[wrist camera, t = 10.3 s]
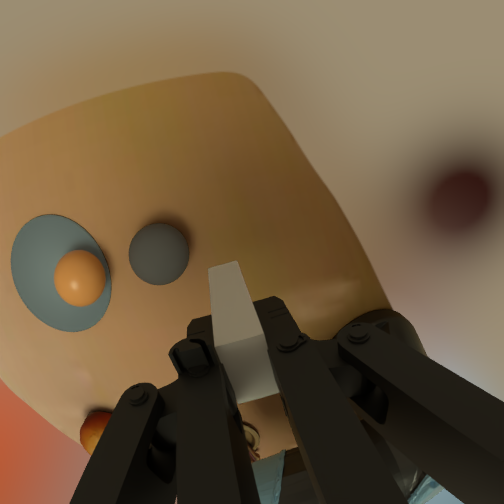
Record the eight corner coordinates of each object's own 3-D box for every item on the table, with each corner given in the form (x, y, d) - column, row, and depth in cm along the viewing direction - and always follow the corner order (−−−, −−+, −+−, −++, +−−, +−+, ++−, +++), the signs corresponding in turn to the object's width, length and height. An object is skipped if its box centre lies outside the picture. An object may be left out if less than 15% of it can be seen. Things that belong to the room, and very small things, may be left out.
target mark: (127, 245, 27) (126, 246, 26) (97, 348, 29) (97, 349, 29) (22, 196, 23) (21, 196, 22) (8, 300, 25) (7, 301, 25)
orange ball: (103, 274, 22) (51, 301, 19) (119, 301, 26) (75, 323, 24) (87, 229, 24) (40, 253, 22) (102, 260, 28) (61, 280, 26)
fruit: (66, 405, 30) (79, 446, 24) (112, 394, 35) (132, 431, 29) (81, 436, 32) (97, 473, 26) (122, 425, 37) (142, 460, 31)
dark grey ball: (132, 284, 20) (112, 264, 24) (185, 300, 25) (157, 280, 28) (160, 218, 21) (135, 210, 25) (210, 243, 25) (179, 231, 29)
